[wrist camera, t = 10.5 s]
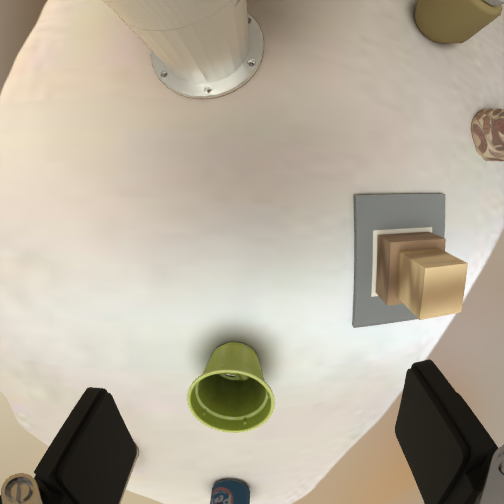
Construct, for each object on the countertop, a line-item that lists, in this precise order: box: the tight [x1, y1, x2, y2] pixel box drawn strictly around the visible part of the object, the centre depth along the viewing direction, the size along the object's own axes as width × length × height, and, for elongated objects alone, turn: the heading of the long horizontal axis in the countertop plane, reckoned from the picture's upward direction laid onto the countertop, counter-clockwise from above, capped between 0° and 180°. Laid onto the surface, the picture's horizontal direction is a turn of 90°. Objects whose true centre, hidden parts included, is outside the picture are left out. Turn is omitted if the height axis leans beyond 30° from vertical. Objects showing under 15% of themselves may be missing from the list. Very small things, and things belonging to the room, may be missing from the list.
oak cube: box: [396, 248, 468, 320], centre depth 28 cm, size 5×5×6 cm
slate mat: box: [352, 193, 445, 328], centre depth 36 cm, size 16×12×1 cm
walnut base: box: [375, 232, 445, 306], centre depth 33 cm, size 7×7×4 cm
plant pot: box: [187, 342, 275, 433], centre depth 36 cm, size 9×9×9 cm
